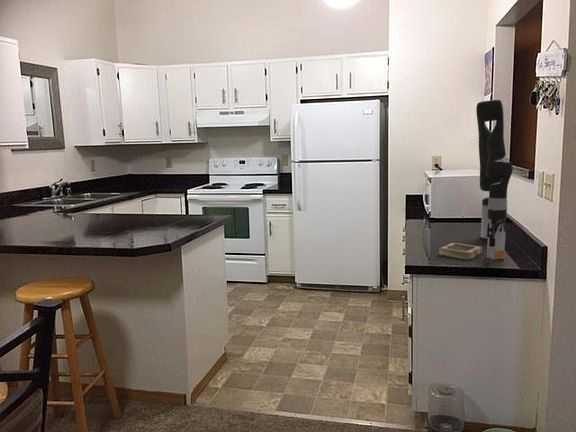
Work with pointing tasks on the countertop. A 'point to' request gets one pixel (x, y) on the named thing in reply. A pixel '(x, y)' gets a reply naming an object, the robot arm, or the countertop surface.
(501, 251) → the skincare box
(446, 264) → the countertop surface
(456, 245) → the birch stand
